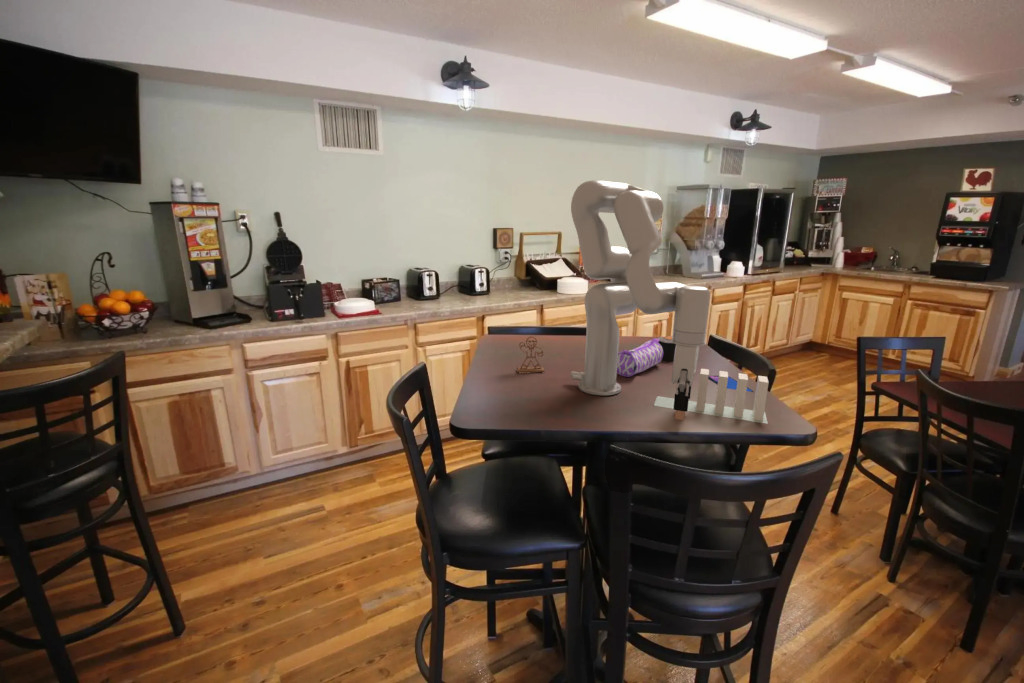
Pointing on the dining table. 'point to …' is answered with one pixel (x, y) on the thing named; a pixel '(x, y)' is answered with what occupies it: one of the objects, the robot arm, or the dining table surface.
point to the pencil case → (639, 358)
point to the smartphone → (730, 384)
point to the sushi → (667, 348)
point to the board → (709, 409)
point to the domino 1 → (680, 414)
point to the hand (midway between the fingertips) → (681, 403)
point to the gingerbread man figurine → (535, 368)
